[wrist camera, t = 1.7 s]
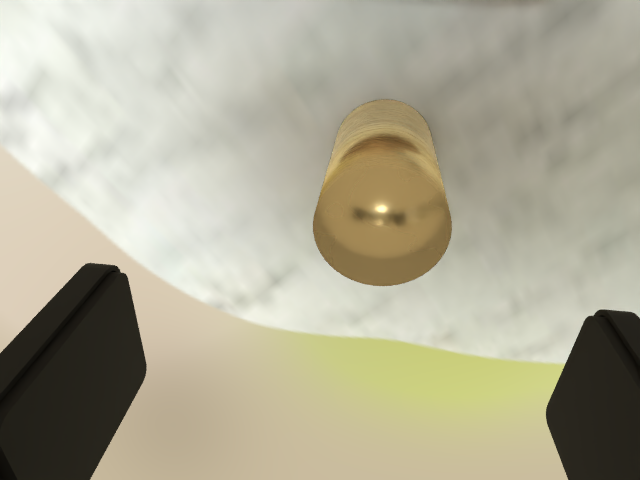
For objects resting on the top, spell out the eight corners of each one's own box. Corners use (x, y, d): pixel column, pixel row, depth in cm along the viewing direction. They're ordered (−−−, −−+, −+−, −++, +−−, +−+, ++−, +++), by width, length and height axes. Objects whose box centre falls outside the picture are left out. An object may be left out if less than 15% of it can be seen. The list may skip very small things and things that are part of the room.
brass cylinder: (439, 103, 18) (464, 172, 12) (423, 194, 20) (438, 292, 14) (338, 95, 19) (315, 160, 13) (333, 186, 21) (311, 278, 15)
